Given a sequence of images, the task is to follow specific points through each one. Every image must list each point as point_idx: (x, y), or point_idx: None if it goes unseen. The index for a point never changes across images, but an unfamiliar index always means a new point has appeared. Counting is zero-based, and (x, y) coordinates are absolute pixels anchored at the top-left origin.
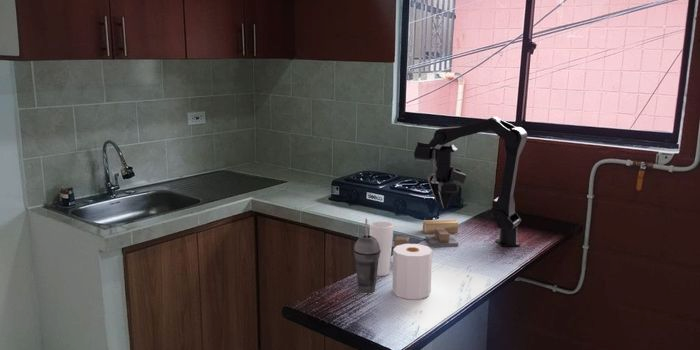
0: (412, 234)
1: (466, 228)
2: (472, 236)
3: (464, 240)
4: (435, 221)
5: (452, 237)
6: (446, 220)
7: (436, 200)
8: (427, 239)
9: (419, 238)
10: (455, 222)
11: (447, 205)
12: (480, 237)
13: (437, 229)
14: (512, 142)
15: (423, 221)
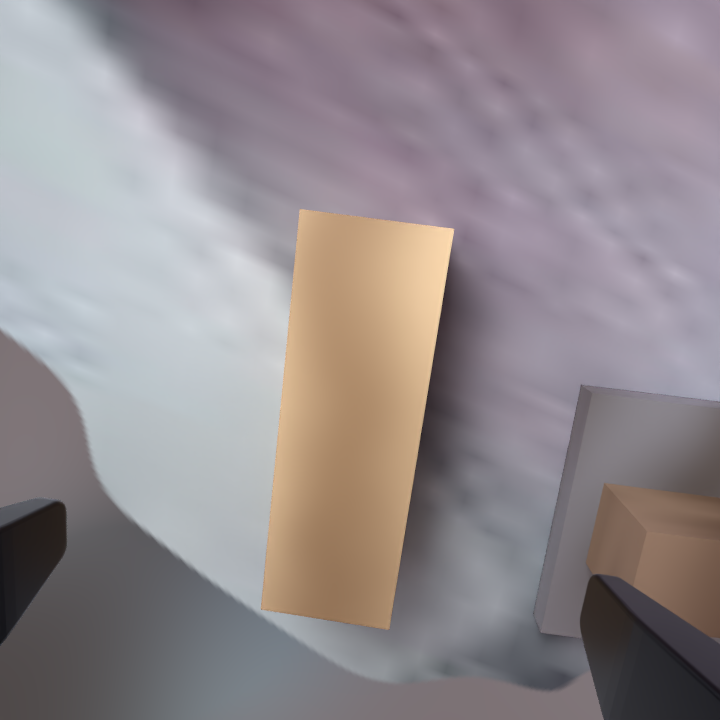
0: (391, 668)
1: (315, 59)
2: (617, 123)
3: (716, 278)
4: (333, 496)
5: (684, 409)
6: (317, 345)
7: (39, 590)
8: None
9: (516, 656)
10: (432, 264)
11: (686, 636)
12: (683, 39)
13: (687, 620)
14: None
15: (280, 606)
